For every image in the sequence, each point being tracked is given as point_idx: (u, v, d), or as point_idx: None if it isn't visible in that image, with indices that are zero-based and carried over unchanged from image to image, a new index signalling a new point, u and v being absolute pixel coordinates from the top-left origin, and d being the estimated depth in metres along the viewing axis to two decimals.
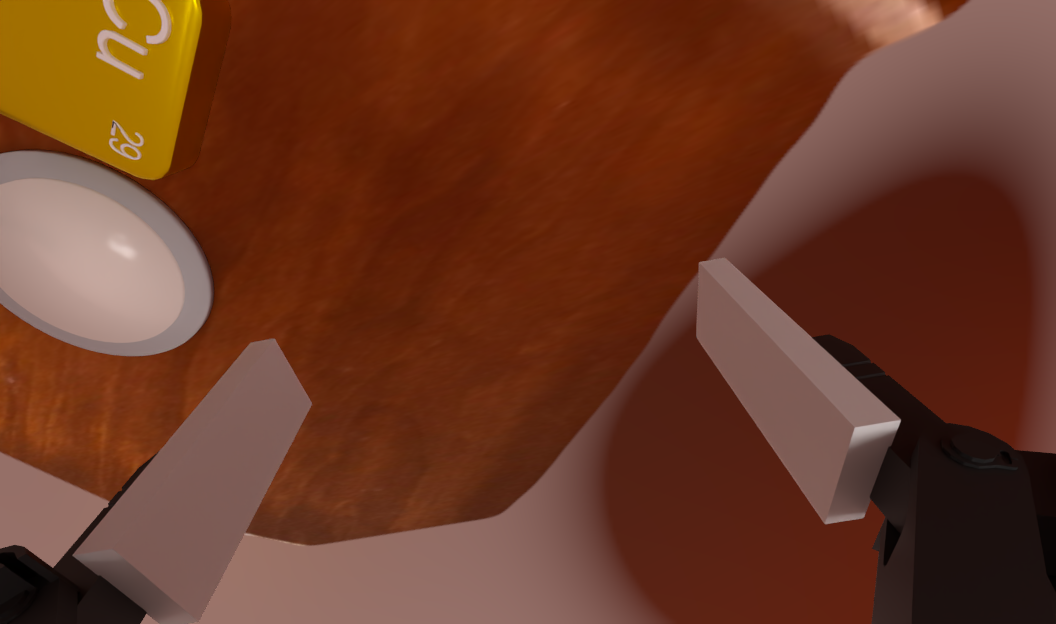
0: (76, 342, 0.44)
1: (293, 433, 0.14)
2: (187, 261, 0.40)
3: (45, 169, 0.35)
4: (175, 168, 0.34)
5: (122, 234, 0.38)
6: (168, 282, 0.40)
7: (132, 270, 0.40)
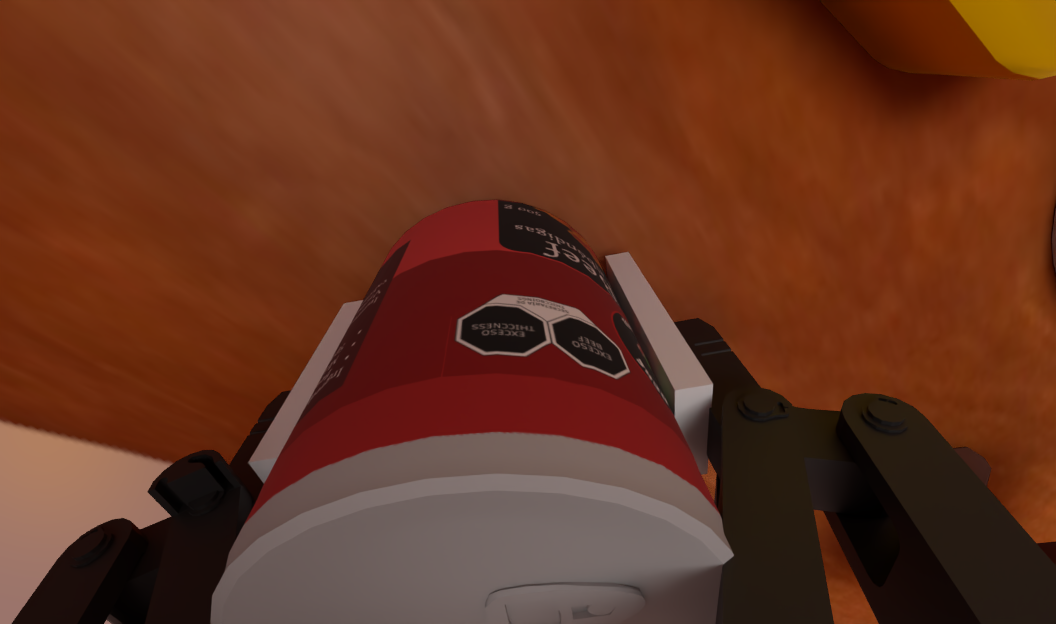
0: None
1: None
2: None
3: None
4: None
5: None
6: None
7: None
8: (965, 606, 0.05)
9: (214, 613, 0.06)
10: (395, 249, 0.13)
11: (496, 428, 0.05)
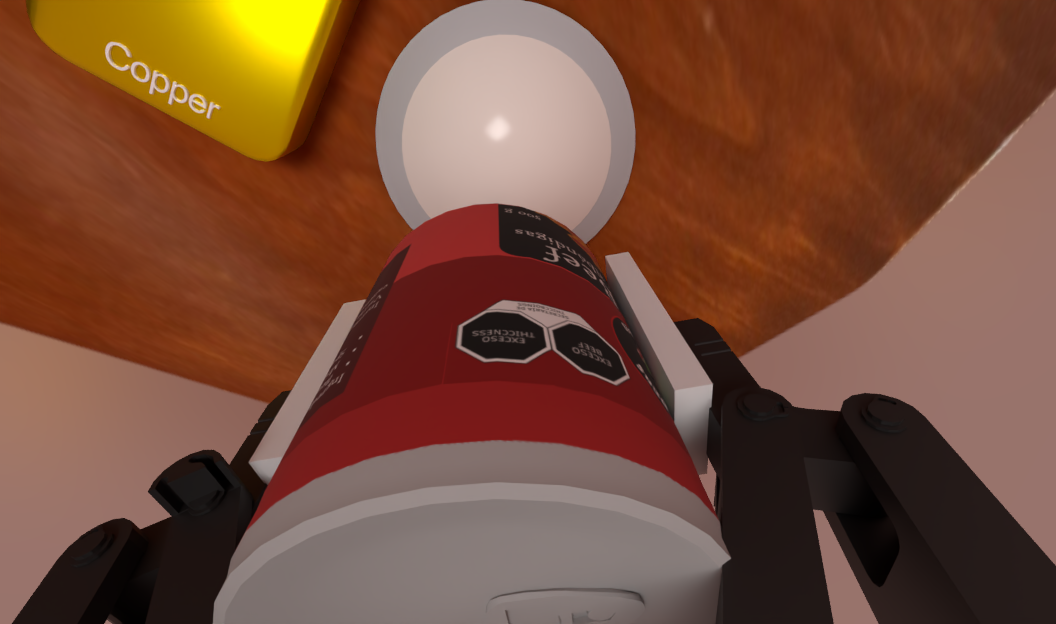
0: (605, 214, 0.37)
1: None
2: (499, 18, 0.29)
3: (393, 143, 0.33)
4: None
5: (460, 86, 0.31)
6: (526, 54, 0.30)
7: (509, 96, 0.32)
8: (965, 606, 0.05)
9: (216, 619, 0.06)
10: (396, 253, 0.13)
11: (496, 436, 0.05)
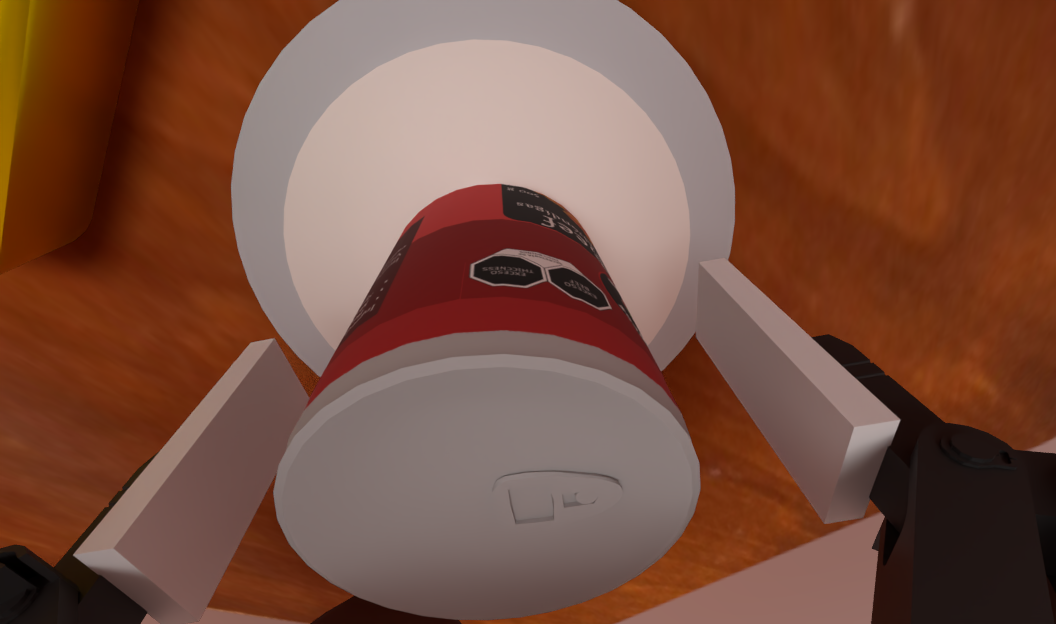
0: (665, 355, 0.21)
1: None
2: (471, 4, 0.14)
3: (272, 246, 0.17)
4: None
5: (394, 144, 0.15)
6: (531, 82, 0.14)
7: (494, 164, 0.16)
8: None
9: (278, 482, 0.07)
10: (410, 225, 0.14)
11: (503, 327, 0.07)
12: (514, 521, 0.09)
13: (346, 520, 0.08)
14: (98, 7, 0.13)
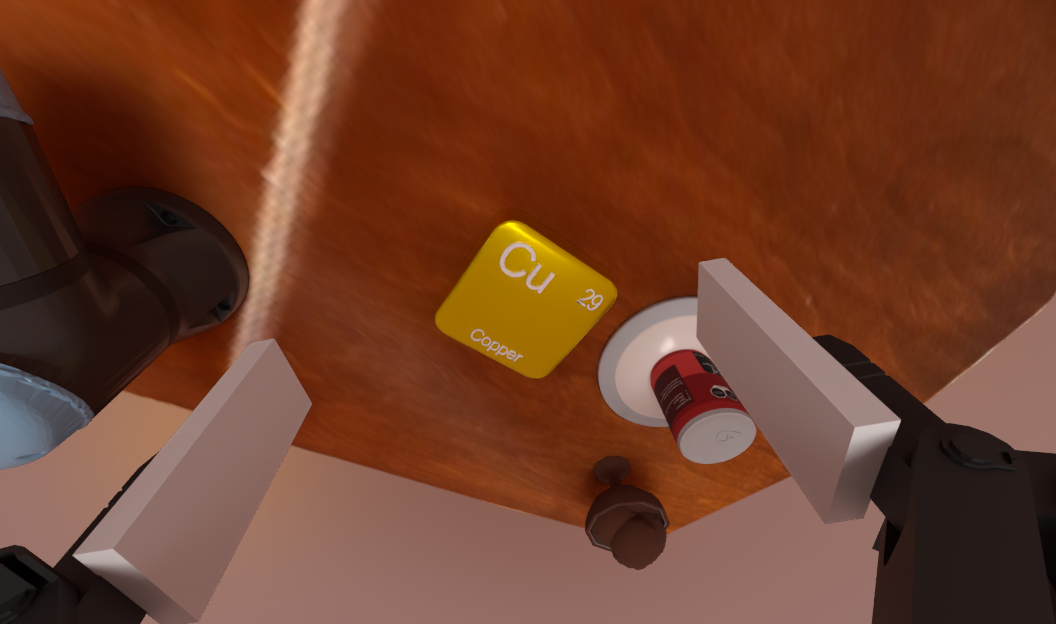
0: None
1: (293, 433, 0.14)
2: (689, 307, 0.50)
3: (610, 364, 0.54)
4: (611, 279, 0.46)
5: (660, 340, 0.52)
6: None
7: (687, 343, 0.52)
8: None
9: (686, 431, 0.44)
10: (668, 365, 0.51)
11: (727, 407, 0.44)
12: (719, 440, 0.46)
13: (689, 439, 0.45)
14: None
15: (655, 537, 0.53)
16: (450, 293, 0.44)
